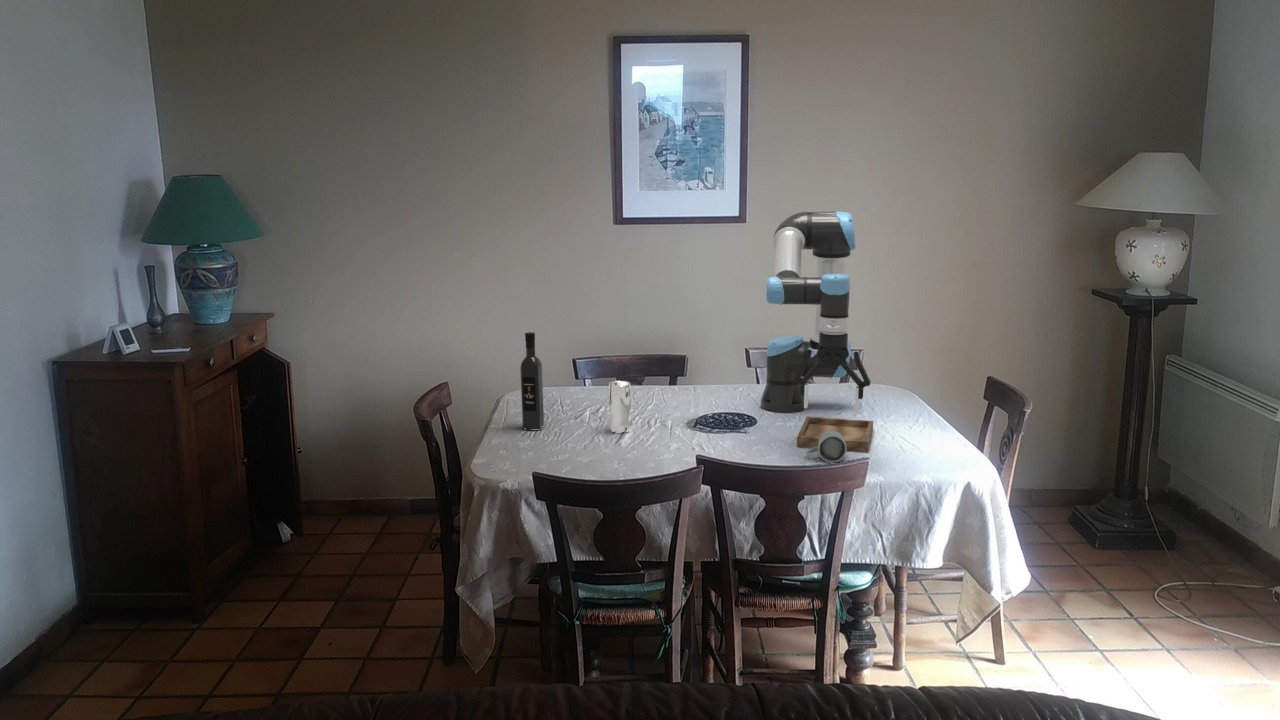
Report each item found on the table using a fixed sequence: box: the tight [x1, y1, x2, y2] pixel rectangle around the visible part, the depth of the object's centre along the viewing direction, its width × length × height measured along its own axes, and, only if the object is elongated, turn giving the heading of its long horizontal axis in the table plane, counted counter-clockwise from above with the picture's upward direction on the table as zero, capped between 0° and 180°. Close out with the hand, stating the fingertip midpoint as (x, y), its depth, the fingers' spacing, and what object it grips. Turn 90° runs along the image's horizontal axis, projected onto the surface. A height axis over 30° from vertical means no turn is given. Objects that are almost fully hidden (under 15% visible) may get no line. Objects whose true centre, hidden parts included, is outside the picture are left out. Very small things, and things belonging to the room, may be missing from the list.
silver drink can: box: [607, 380, 632, 432], centre depth 285 cm, size 7×7×15 cm
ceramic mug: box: [806, 431, 848, 464], centre depth 258 cm, size 11×8×8 cm
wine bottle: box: [519, 331, 545, 430], centre depth 287 cm, size 6×6×30 cm
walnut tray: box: [796, 416, 874, 453], centre depth 276 cm, size 20×22×3 cm
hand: (831, 409), depth 255 cm, fingers open, 13 cm apart
